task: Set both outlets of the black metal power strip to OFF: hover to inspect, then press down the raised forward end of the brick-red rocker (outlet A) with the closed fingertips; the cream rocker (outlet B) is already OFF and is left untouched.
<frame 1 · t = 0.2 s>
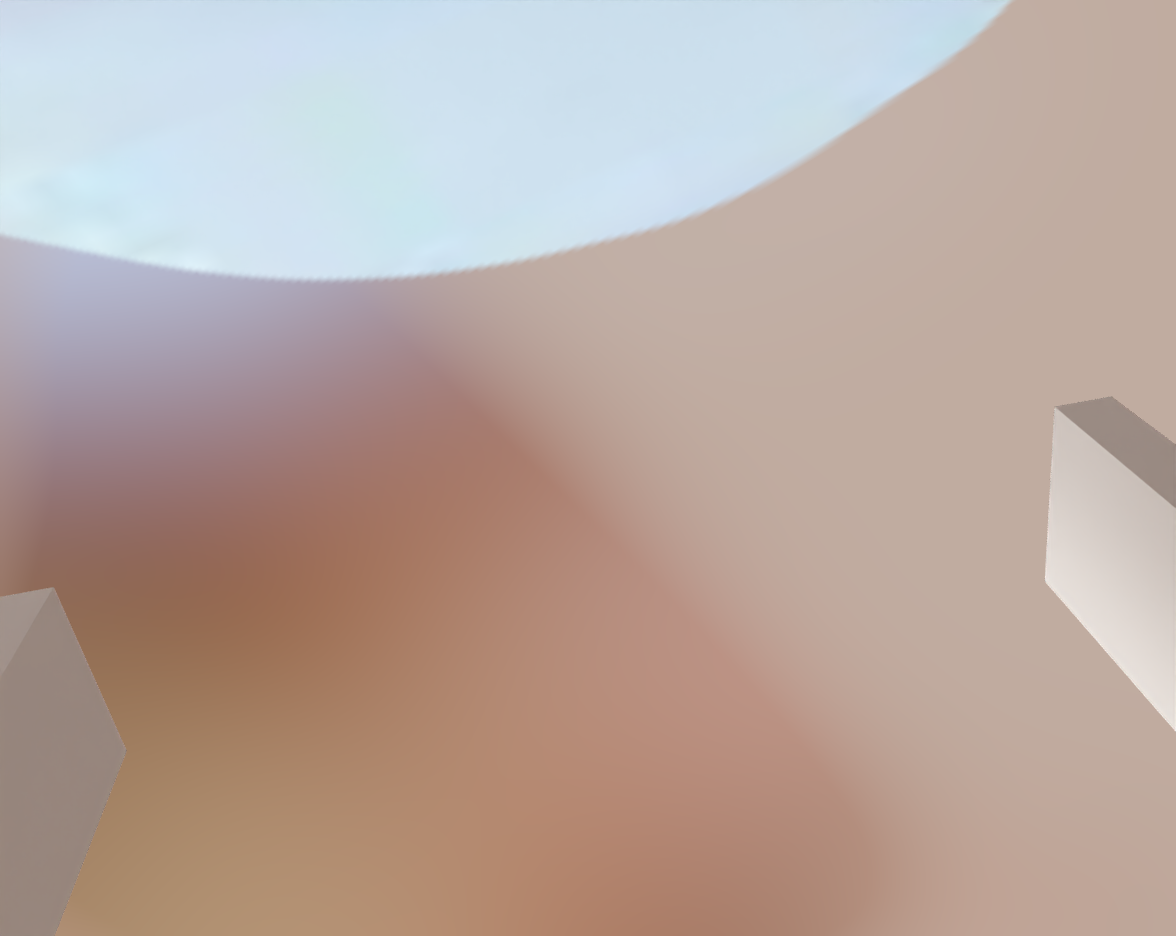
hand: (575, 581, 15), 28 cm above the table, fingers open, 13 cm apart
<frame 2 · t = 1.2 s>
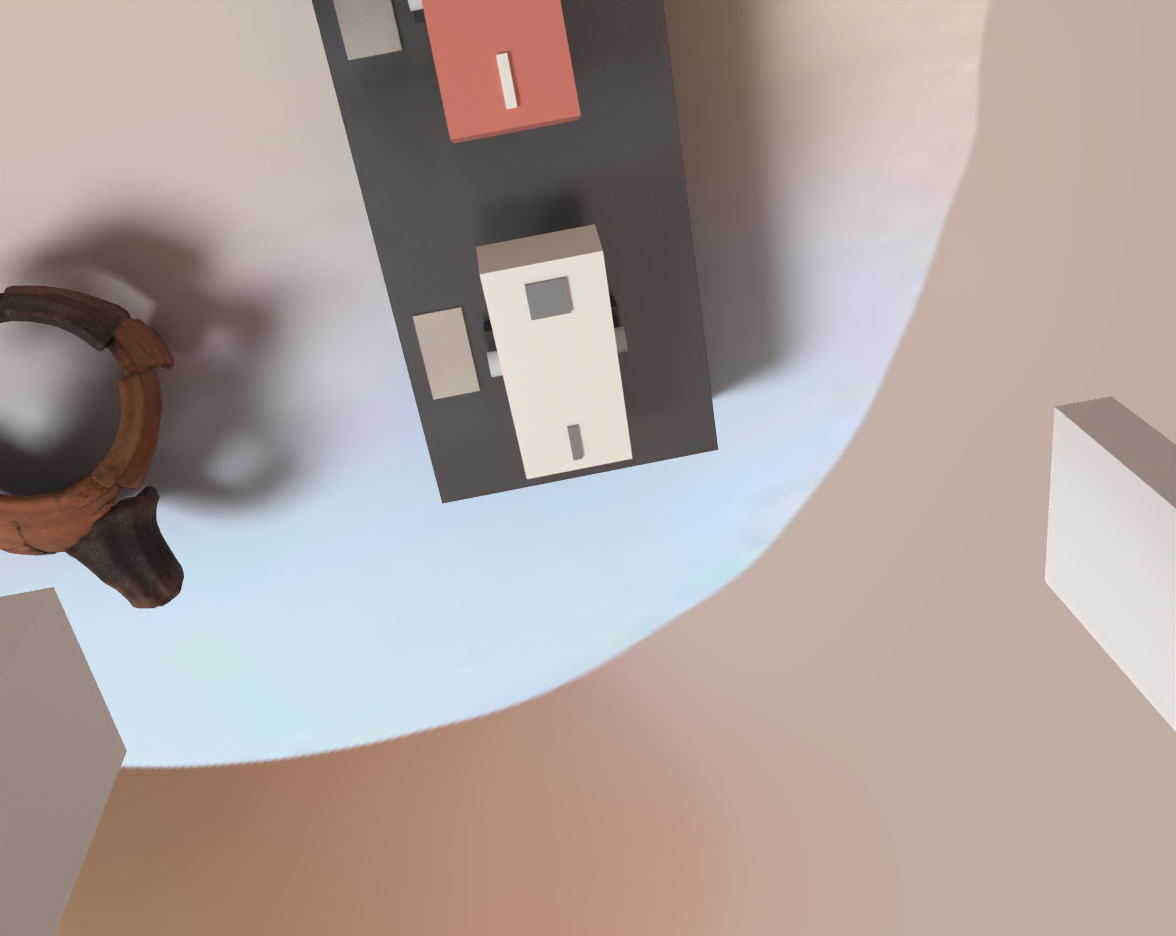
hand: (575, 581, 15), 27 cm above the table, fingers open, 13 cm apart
power strip: (516, 144, 38), on the table
rocker B: (559, 359, 35), point 6 cm above the table, hinge at 14.0°
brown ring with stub: (86, 422, 41), on the table
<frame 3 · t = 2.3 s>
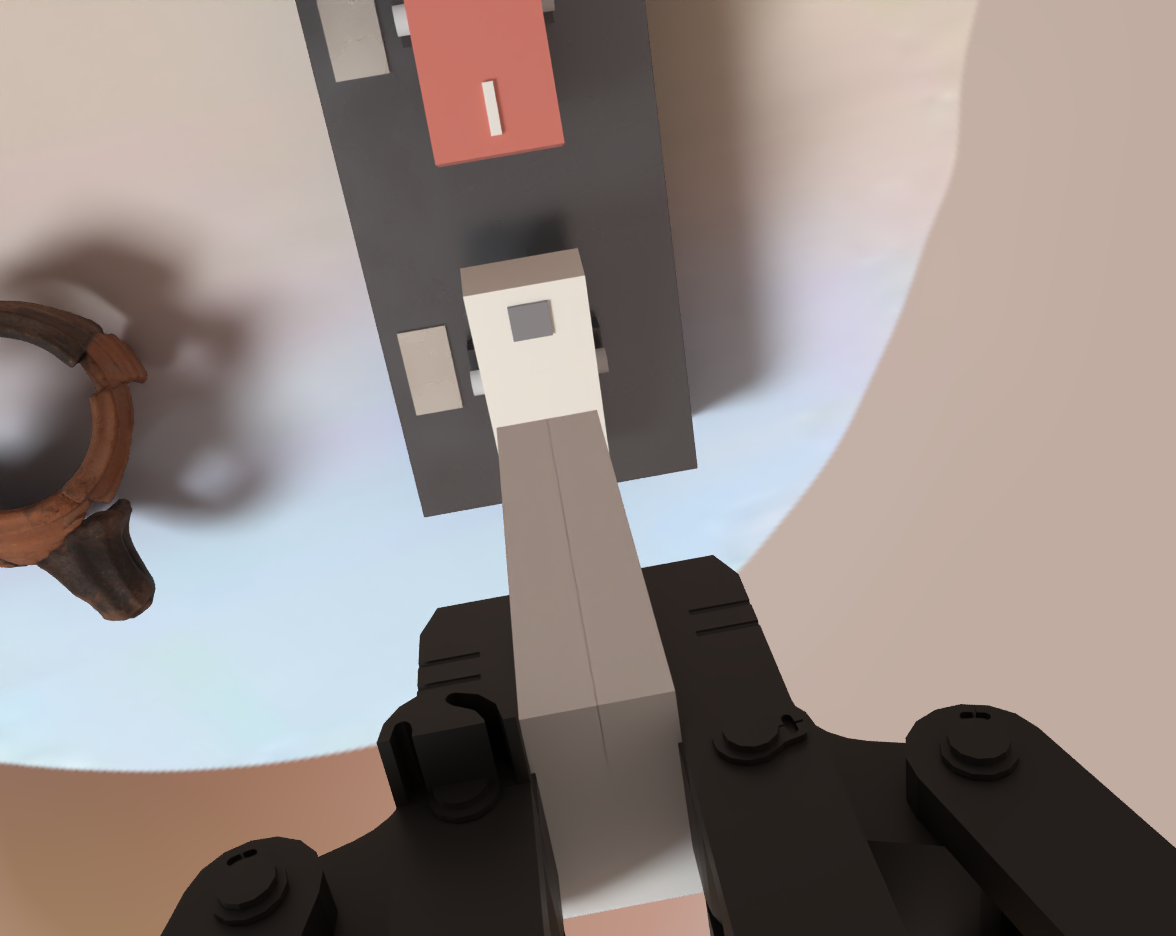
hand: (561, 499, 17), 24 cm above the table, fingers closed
power strip: (502, 163, 38), on the table
rocker A: (473, 5, 30), point 6 cm above the table, hinge at -14.0°
rocker B: (540, 379, 35), point 6 cm above the table, hinge at 14.0°
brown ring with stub: (60, 434, 41), on the table
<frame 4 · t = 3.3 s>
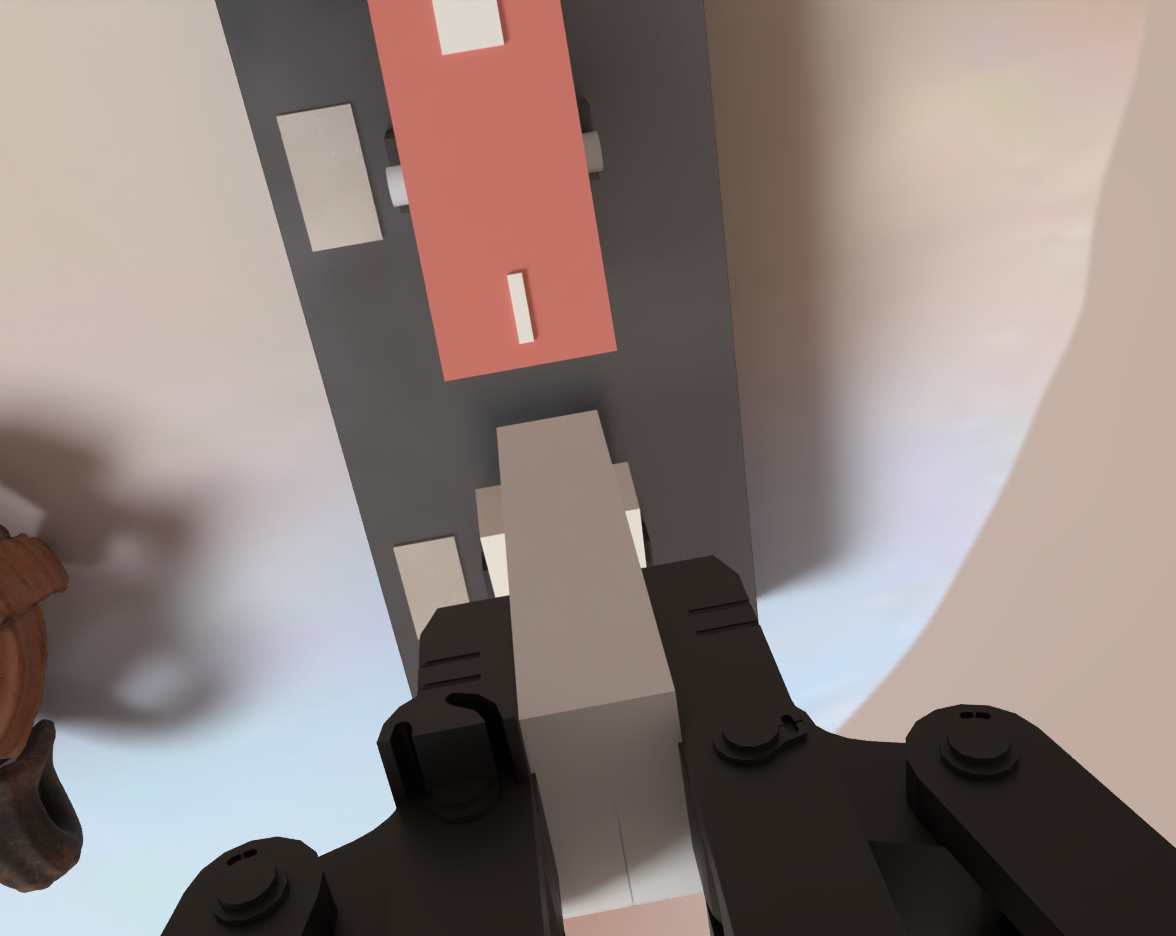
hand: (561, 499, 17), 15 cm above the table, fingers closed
power strip: (523, 320, 31), on the table
rocker A: (495, 168, 23), point 6 cm above the table, hinge at -14.0°
rocker B: (577, 613, 28), point 6 cm above the table, hinge at 14.0°
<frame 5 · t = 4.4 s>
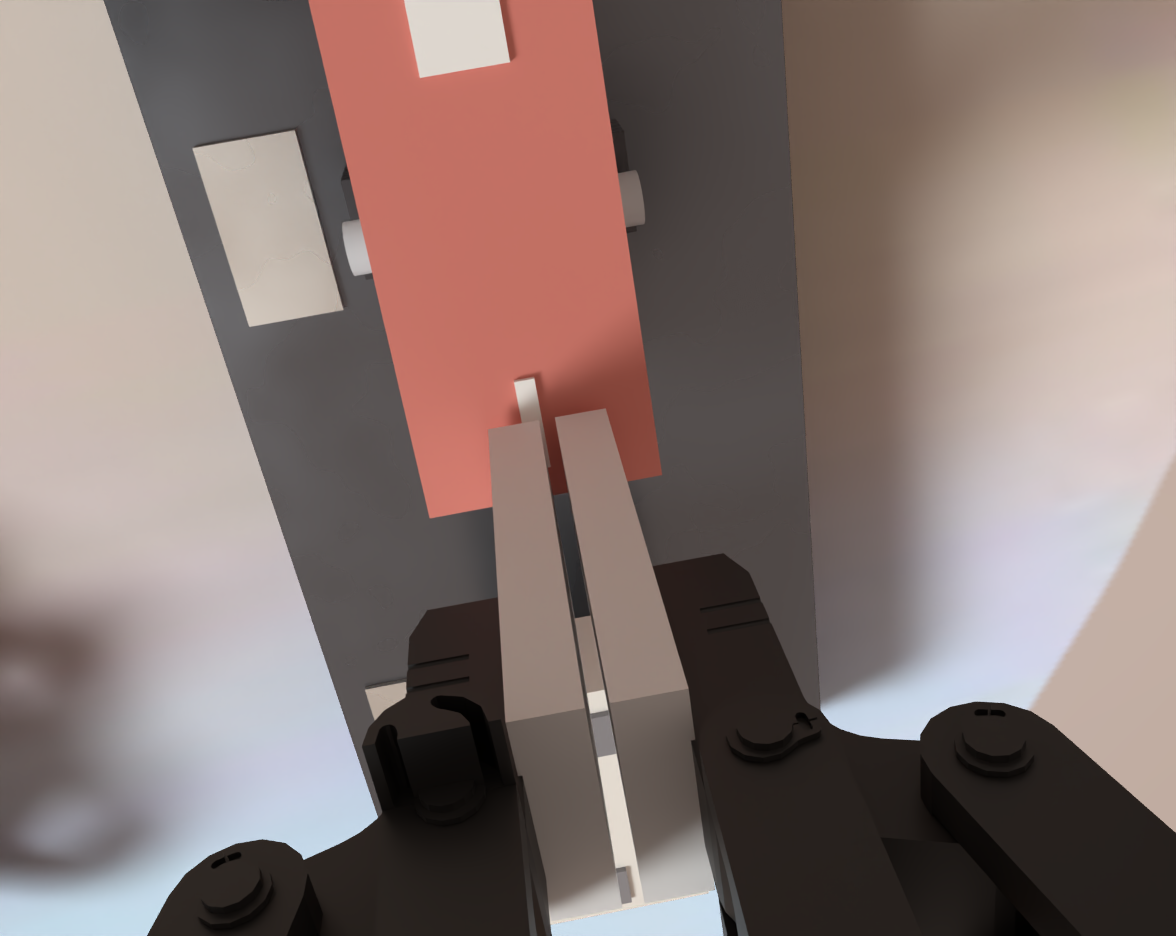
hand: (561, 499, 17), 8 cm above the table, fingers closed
power strip: (529, 391, 24), on the table
rocker A: (495, 227, 16), point 6 cm above the table, hinge at -7.9°, touching gripper
rocker B: (601, 781, 22), point 6 cm above the table, hinge at 14.0°
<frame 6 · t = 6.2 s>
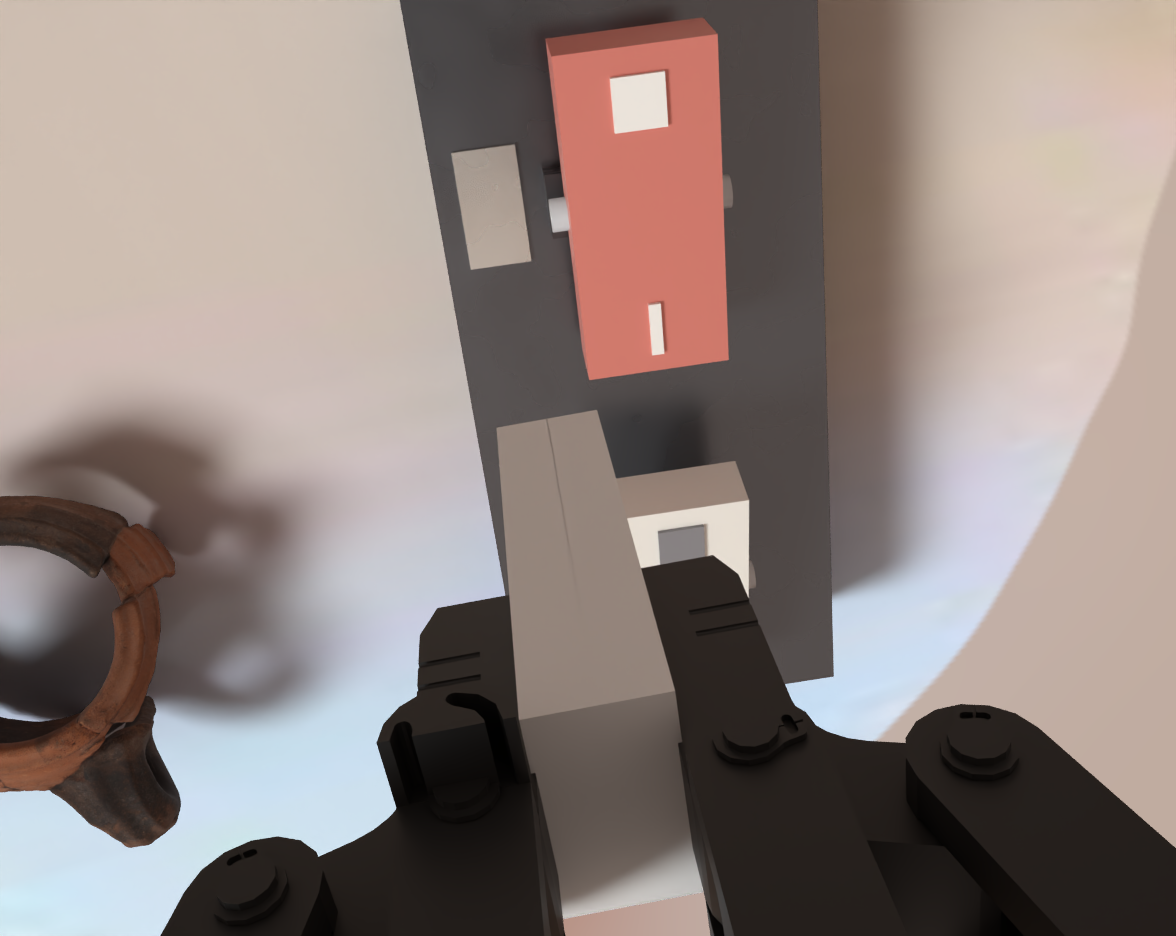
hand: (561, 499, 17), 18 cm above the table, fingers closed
power strip: (631, 338, 35), on the table
rocker A: (643, 210, 27), point 6 cm above the table, hinge at 8.6°
rocker B: (680, 596, 31), point 6 cm above the table, hinge at 14.0°
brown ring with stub: (78, 624, 37), on the table
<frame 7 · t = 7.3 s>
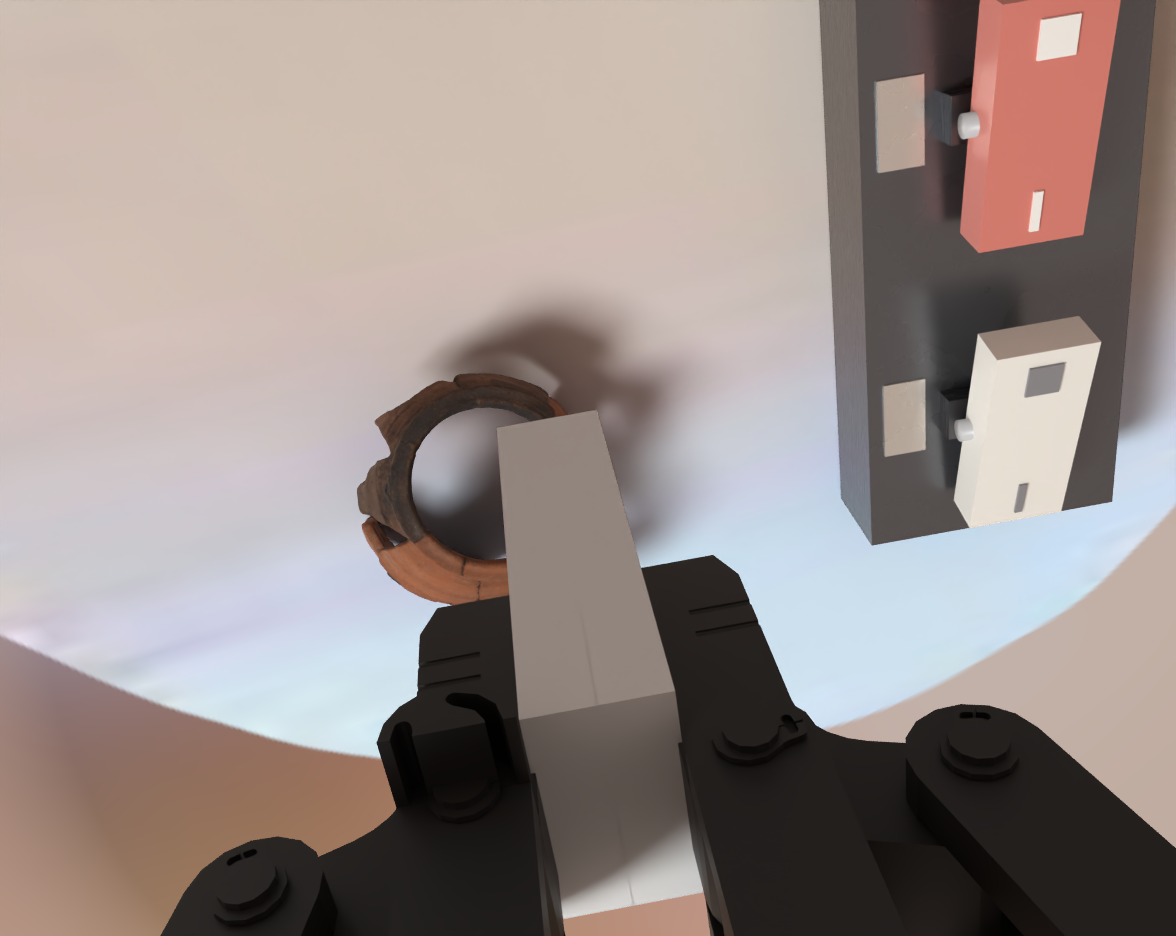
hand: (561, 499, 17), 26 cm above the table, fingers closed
power strip: (955, 233, 43), on the table
rocker A: (1035, 119, 35), point 6 cm above the table, hinge at 9.7°
rocker B: (1022, 428, 40), point 6 cm above the table, hinge at 14.0°
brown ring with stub: (484, 485, 47), on the table
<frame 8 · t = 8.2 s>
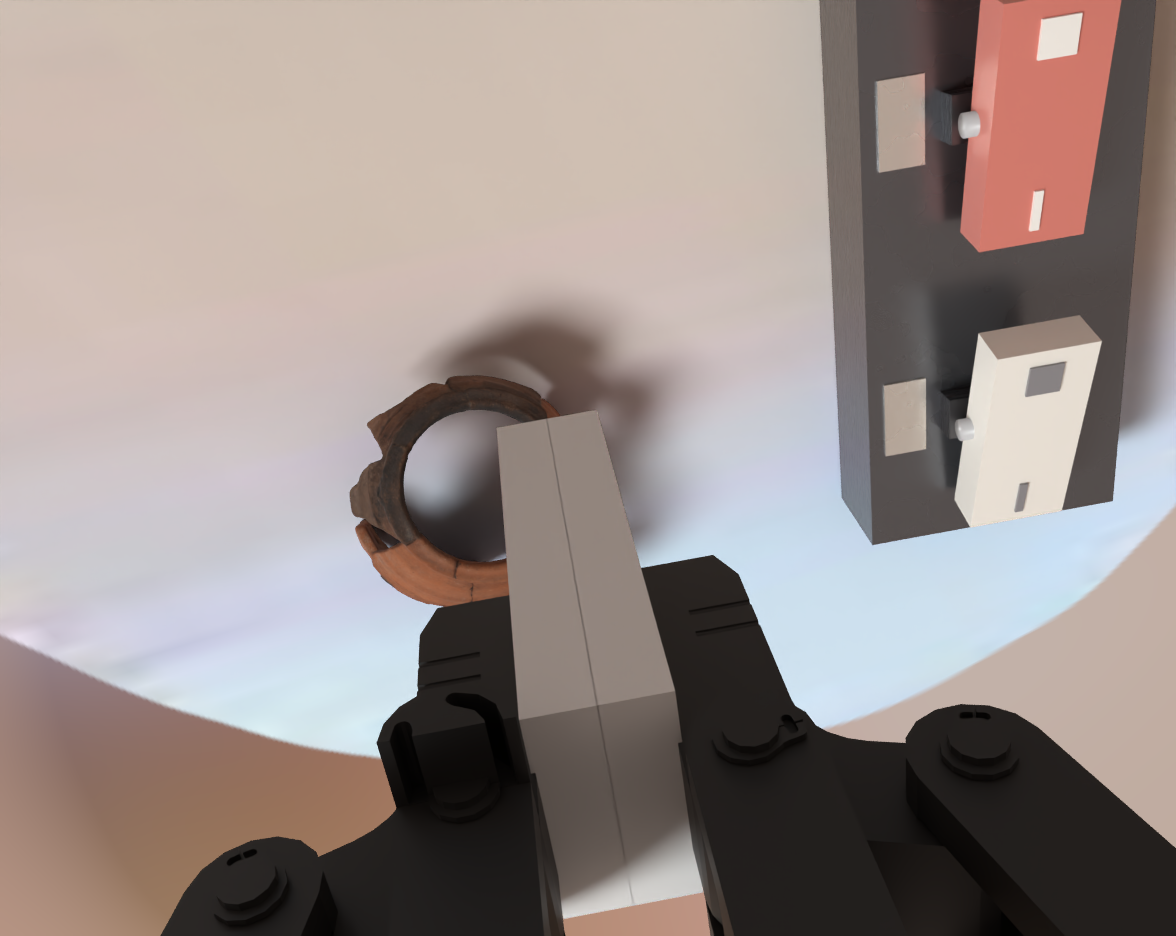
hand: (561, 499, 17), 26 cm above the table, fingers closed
power strip: (955, 233, 43), on the table
rocker A: (1035, 119, 35), point 6 cm above the table, hinge at 9.9°
rocker B: (1022, 427, 40), point 6 cm above the table, hinge at 14.0°
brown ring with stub: (478, 486, 47), on the table
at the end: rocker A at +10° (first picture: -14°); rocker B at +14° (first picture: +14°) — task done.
